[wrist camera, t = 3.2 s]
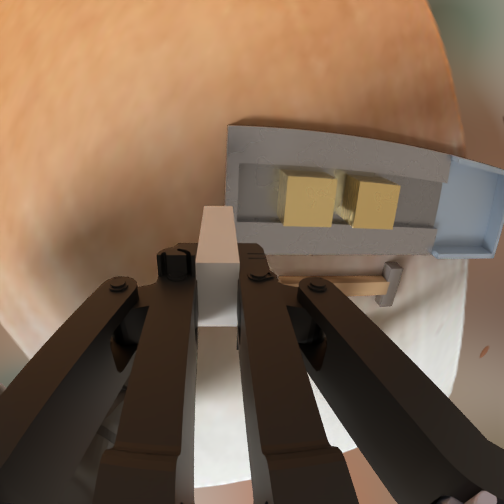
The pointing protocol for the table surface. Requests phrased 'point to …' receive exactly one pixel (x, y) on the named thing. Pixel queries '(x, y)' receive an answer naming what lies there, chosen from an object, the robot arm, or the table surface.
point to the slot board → (337, 165)
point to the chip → (369, 202)
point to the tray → (469, 211)
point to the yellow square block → (306, 198)
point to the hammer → (362, 283)
